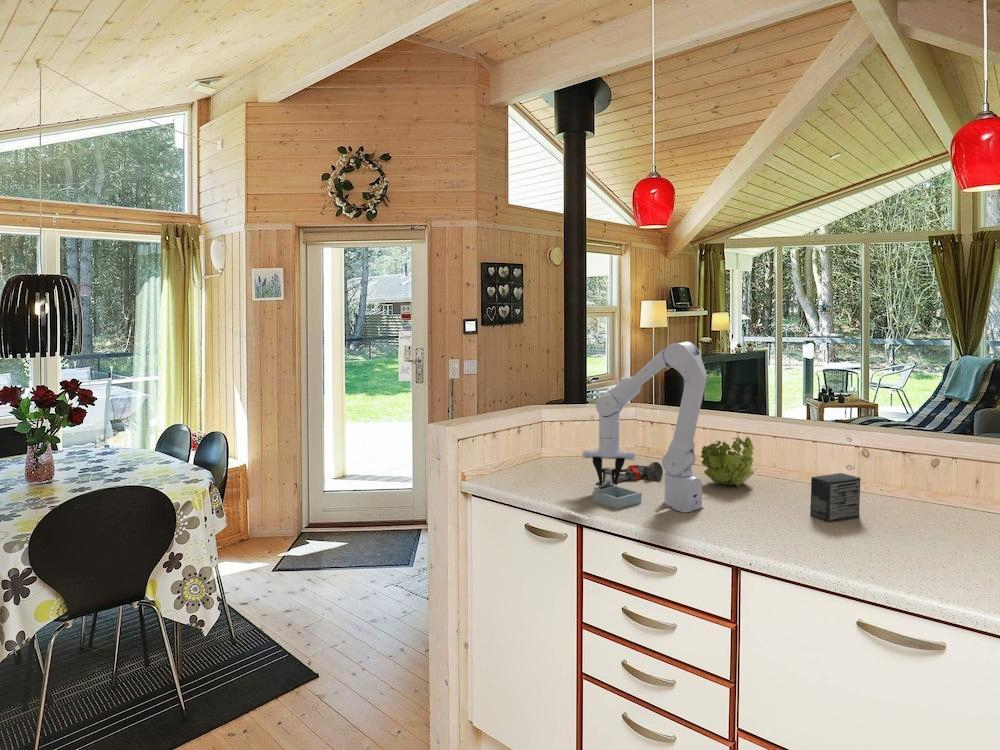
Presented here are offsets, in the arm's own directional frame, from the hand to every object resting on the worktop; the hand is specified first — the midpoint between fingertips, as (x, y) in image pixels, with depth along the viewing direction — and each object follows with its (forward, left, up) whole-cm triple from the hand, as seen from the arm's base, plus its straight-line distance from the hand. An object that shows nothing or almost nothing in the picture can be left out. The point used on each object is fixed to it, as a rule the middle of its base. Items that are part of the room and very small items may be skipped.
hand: (608, 483), depth 193 cm
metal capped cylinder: (0, 0, -2) cm, 2 cm away
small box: (-49, -31, -3) cm, 58 cm away
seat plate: (0, 0, -3) cm, 3 cm away
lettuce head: (-13, -38, -3) cm, 40 cm away
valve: (+9, -16, -4) cm, 19 cm away
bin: (-8, +5, -3) cm, 10 cm away
